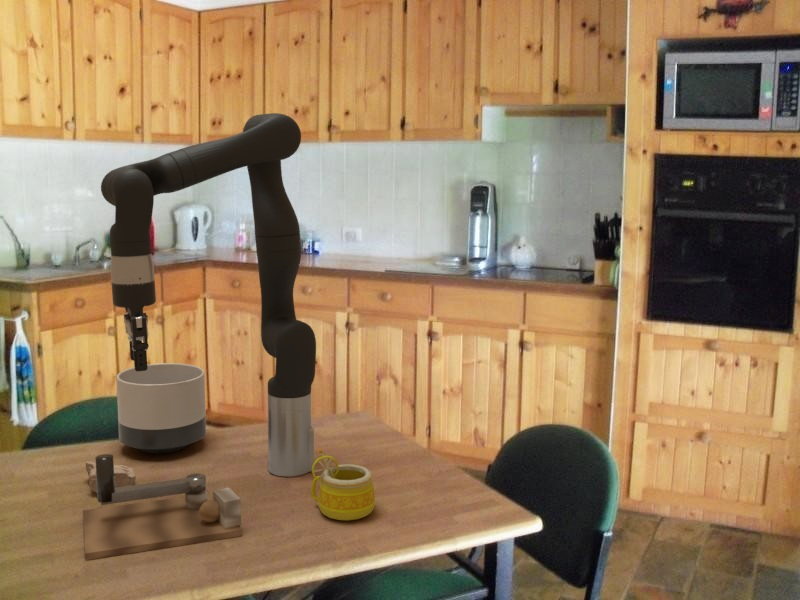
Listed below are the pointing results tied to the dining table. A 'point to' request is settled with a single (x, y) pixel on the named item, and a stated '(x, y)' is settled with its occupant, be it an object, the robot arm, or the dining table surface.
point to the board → (161, 523)
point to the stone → (121, 475)
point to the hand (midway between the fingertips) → (138, 365)
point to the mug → (344, 490)
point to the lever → (140, 485)
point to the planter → (161, 407)
